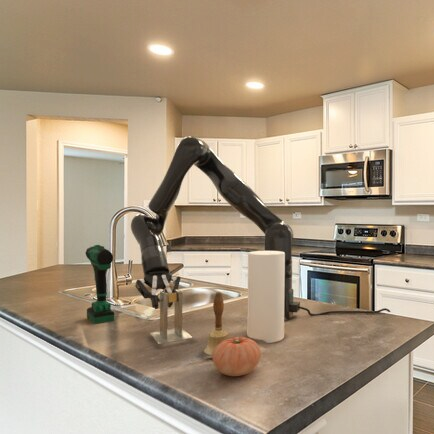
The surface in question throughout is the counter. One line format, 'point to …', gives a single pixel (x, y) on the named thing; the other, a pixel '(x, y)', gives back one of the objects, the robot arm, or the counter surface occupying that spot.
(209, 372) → the counter surface
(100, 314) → the power drill
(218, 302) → the hand bell
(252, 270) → the tall pillar cylinder
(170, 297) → the lever
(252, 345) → the pumpkin
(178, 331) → the bracket
